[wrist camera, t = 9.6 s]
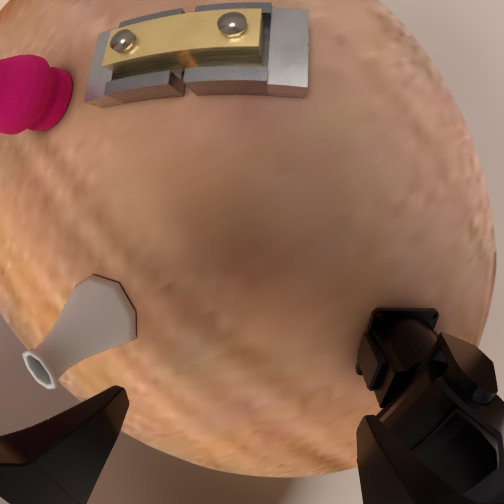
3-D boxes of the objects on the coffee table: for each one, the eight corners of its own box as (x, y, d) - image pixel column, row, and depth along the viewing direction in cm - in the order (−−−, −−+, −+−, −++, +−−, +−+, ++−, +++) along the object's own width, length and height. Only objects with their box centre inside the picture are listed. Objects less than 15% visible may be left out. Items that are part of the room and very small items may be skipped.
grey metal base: (305, 26, 14) (308, 5, 11) (304, 98, 16) (308, 84, 13) (113, 42, 15) (95, 30, 12) (101, 107, 17) (79, 100, 14)
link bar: (127, 79, 15) (96, 63, 12) (133, 47, 15) (106, 27, 11) (262, 69, 15) (257, 41, 11) (264, 34, 14) (260, 3, 10)
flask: (68, 275, 22) (-6, 320, 12) (125, 270, 21) (44, 328, 11) (91, 341, 23) (35, 399, 14) (148, 345, 22) (94, 421, 13)
